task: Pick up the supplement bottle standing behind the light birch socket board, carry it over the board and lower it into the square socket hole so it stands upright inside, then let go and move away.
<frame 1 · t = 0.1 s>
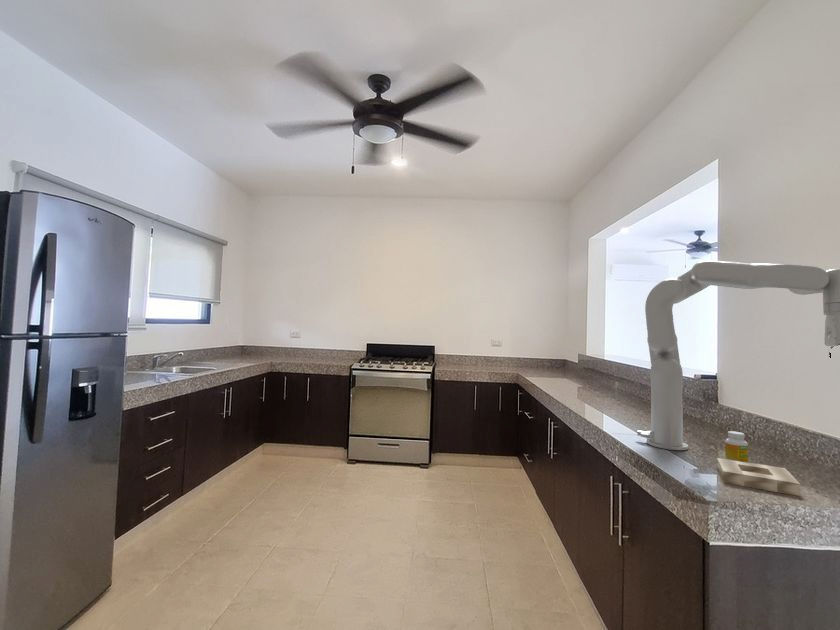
supplement bottle: (736, 465, 119), on the counter
socket board: (754, 480, 105), on the counter
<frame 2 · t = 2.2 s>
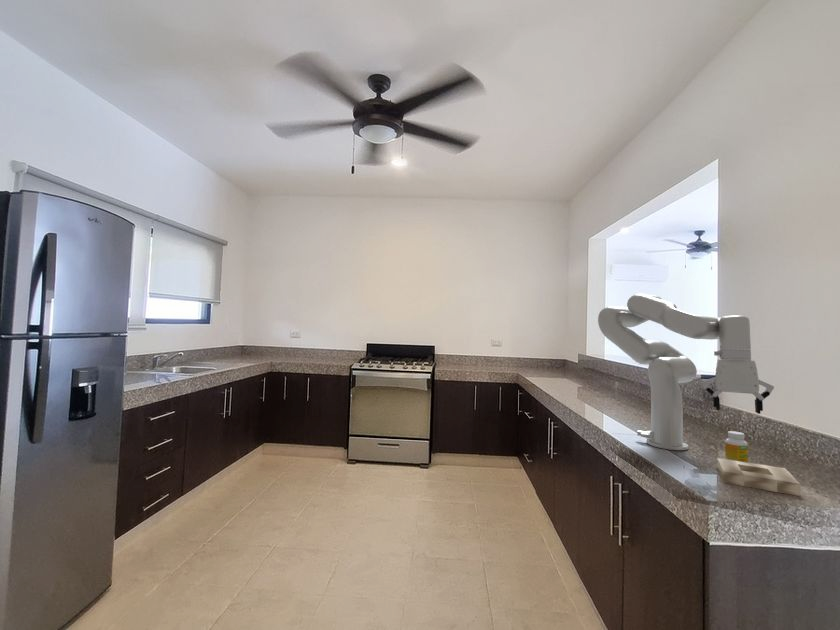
hand: (737, 411, 119), 16 cm above the counter, tool pointing down, fingers open, 9 cm apart
nothing on the counter moved.
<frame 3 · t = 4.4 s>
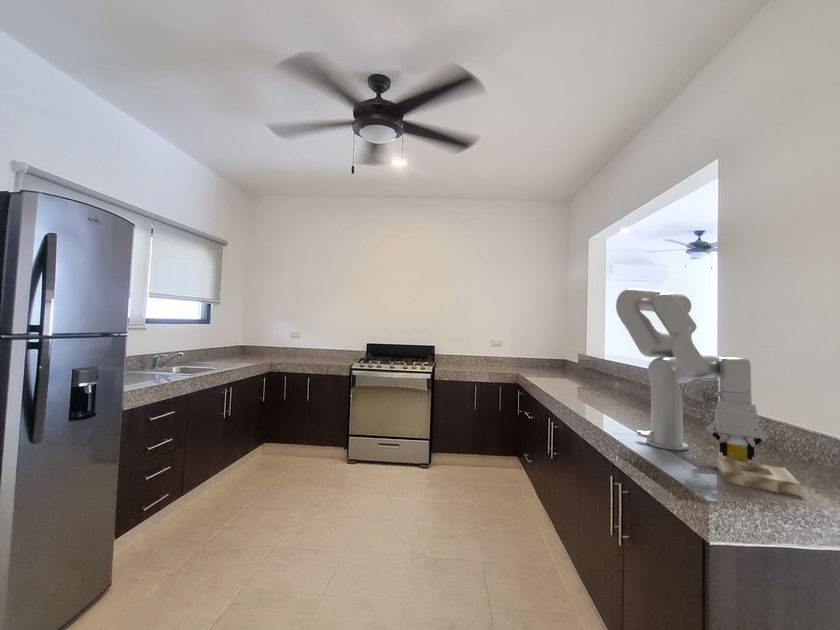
hand: (736, 456, 119), 2 cm above the counter, tool pointing down, fingers closed on supplement bottle, 5 cm apart
supplement bottle: (736, 465, 119), on the counter, touching gripper
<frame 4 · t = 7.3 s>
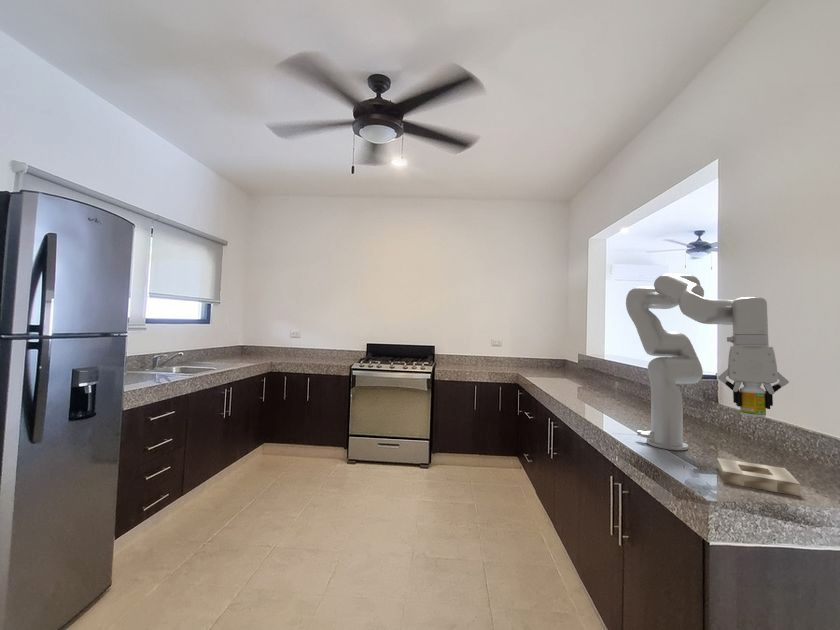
hand: (752, 406, 107), 20 cm above the counter, tool pointing down, fingers closed on supplement bottle, 5 cm apart
supplement bottle: (753, 416, 107), point 17 cm above the counter, touching gripper
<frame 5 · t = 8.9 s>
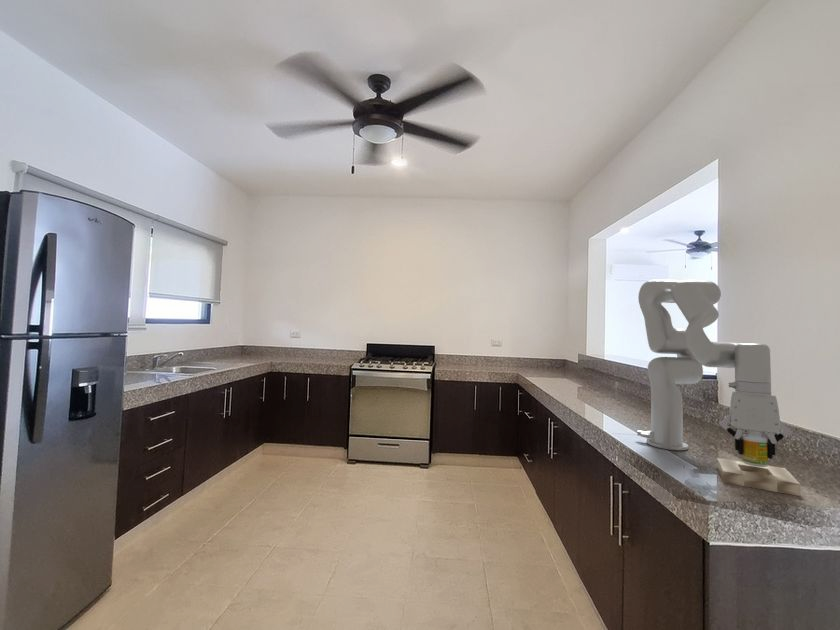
hand: (754, 454, 105), 7 cm above the counter, tool pointing down, fingers closed on supplement bottle, 5 cm apart
supplement bottle: (754, 464, 105), point 4 cm above the counter, touching gripper
when the fingers open (4 cm above the counter, at t = 10.4 s): supplement bottle drops 1 cm, resting in socket board.
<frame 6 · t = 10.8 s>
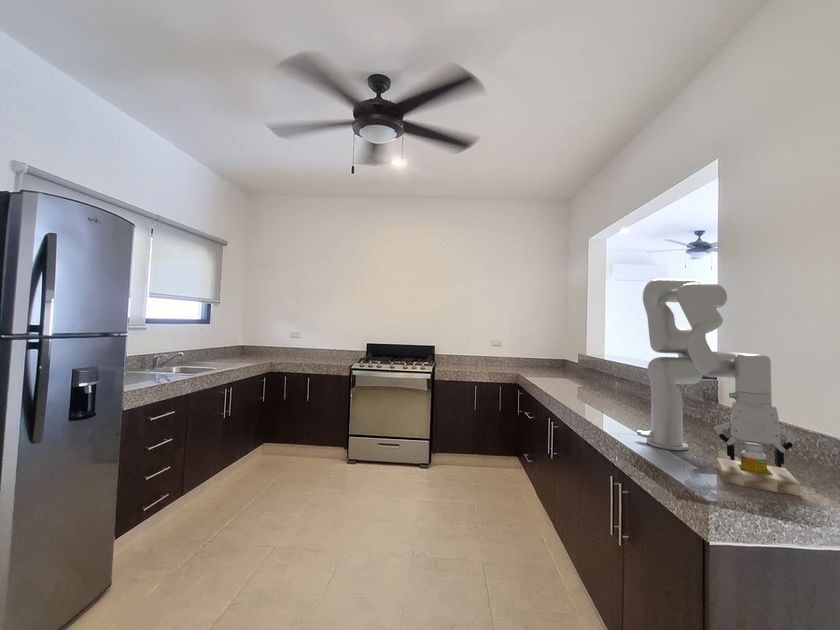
hand: (754, 462, 105), 5 cm above the counter, tool pointing down, fingers open, 9 cm apart
supplement bottle: (754, 481, 105), resting in socket board
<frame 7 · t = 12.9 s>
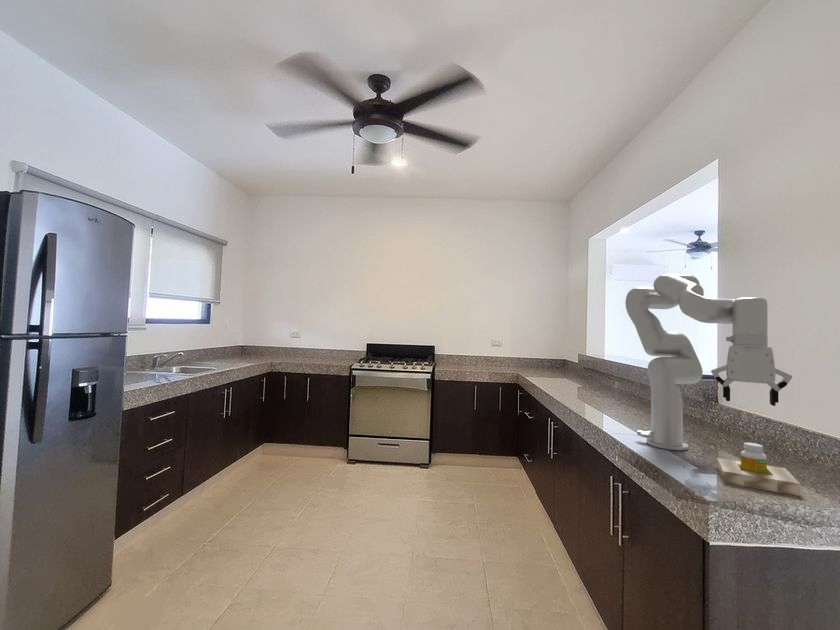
hand: (749, 402, 108), 21 cm above the counter, tool pointing down, fingers open, 9 cm apart
nothing on the counter moved.
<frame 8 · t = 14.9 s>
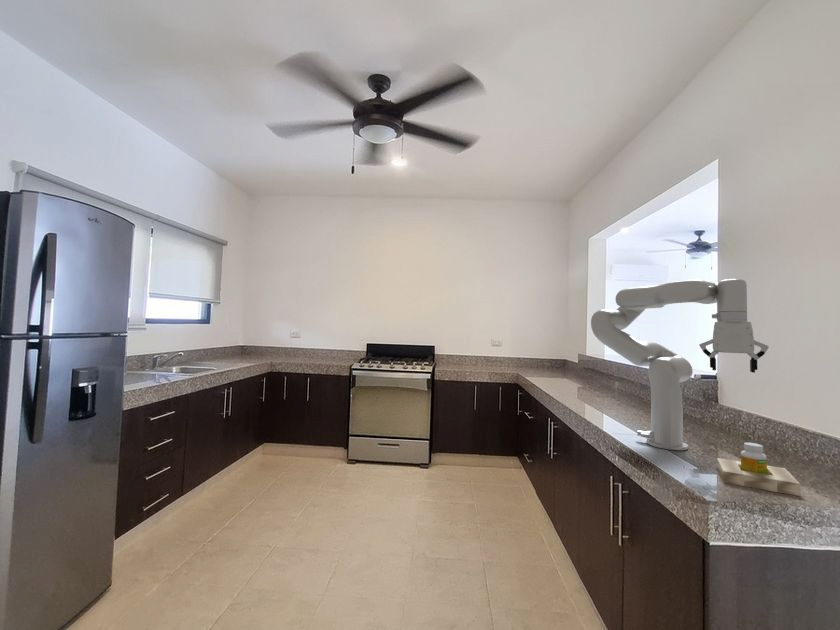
hand: (733, 371, 124), 28 cm above the counter, tool pointing down, fingers open, 9 cm apart
nothing on the counter moved.
at the end: supplement bottle 0.2 cm from the socket board (horizontally); supplement bottle resting in socket board; supplement bottle tilted 0° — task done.
